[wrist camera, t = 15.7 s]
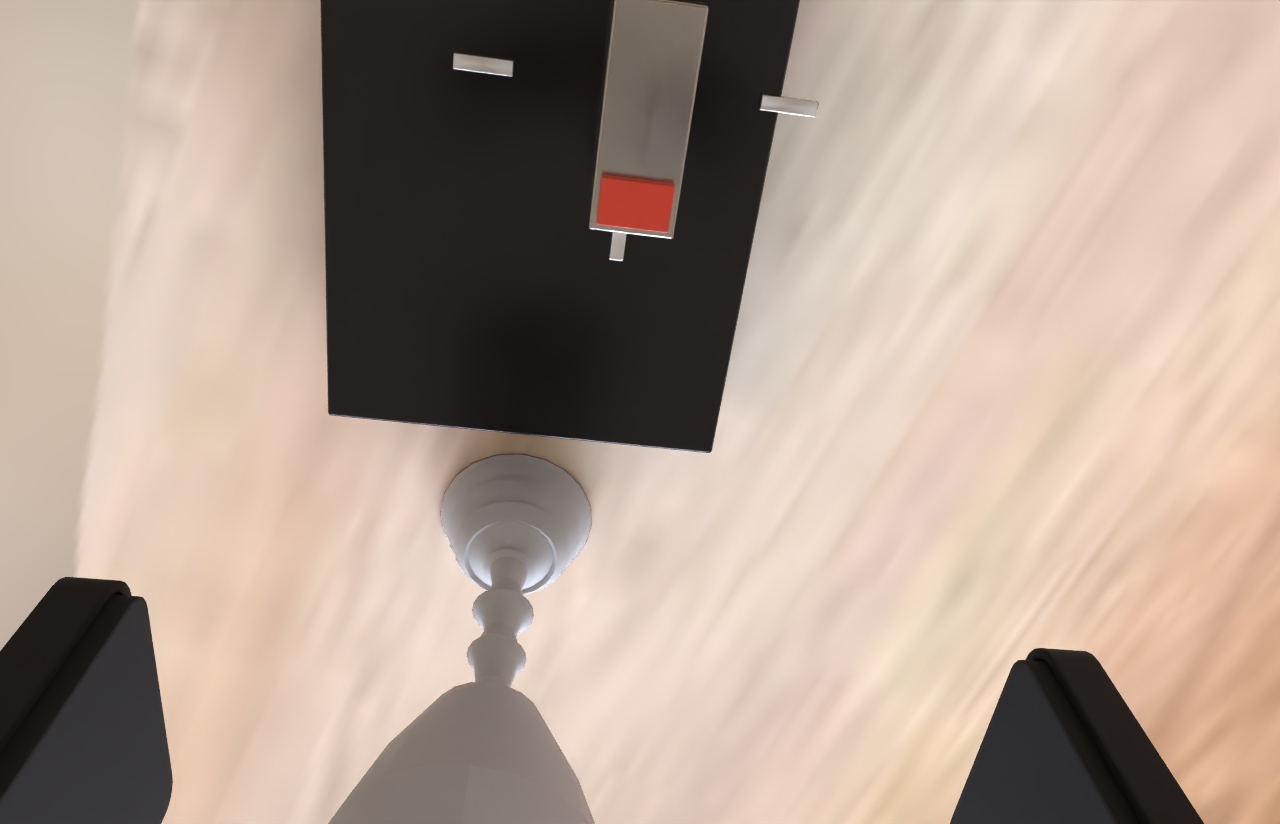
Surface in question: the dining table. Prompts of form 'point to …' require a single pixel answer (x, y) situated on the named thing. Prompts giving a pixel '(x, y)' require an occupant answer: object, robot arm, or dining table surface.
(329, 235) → the black knob base
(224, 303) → the dining table surface
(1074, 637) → the dining table surface
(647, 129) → the box with red tab
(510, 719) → the chalice
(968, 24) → the dining table surface
